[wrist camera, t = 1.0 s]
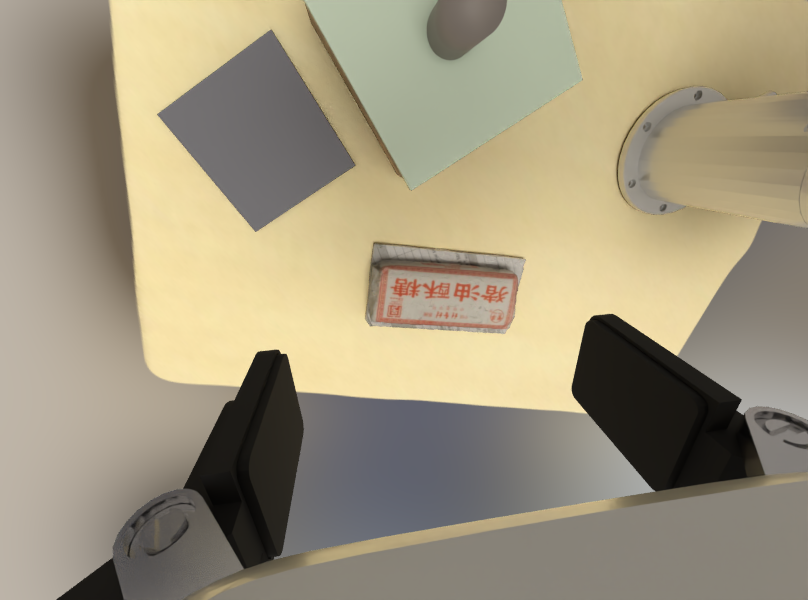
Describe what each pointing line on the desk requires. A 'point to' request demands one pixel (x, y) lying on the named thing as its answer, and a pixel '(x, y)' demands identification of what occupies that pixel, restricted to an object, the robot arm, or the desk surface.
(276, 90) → the mat
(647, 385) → the robot arm
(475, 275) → the packaged product
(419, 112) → the lid
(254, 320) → the desk surface
